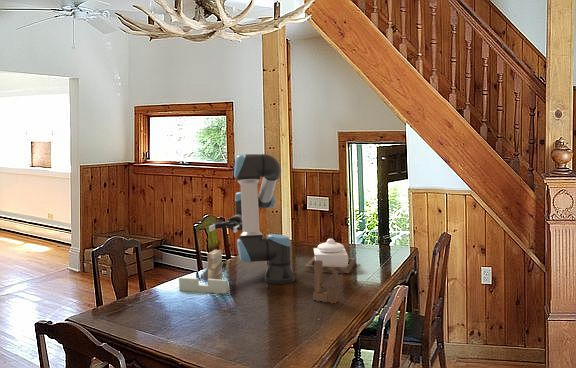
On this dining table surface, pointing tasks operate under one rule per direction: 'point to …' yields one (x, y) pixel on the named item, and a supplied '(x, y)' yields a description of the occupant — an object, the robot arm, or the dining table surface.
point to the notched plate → (215, 264)
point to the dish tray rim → (347, 269)
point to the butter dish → (331, 254)
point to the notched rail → (194, 285)
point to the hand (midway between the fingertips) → (221, 229)
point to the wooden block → (325, 285)
